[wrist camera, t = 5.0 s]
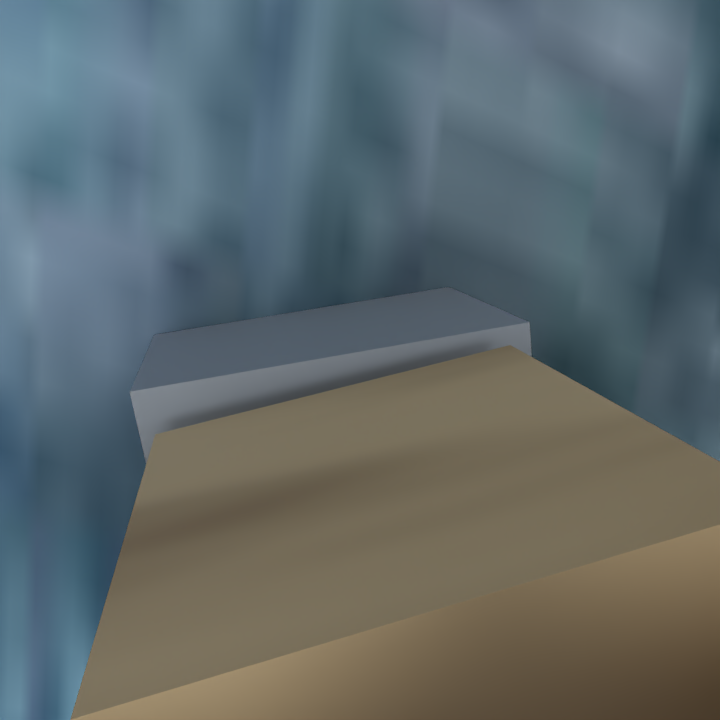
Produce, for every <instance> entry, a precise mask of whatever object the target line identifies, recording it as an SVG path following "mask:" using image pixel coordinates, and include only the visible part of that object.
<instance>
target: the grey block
mask: <svg viewBox="0 0 720 720" xmlns="http://www.w3.org/2000/svg"><path fill="white" fill-rule="evenodd" d="M508 345H511V346H513V347H515V348H517V349H518V350H520V351H522V352H524V353H526V354H527V355H529V356H531V357H532V354H531V336H530V322H528V321H526V320H524V319H521V318H519V317H517V316H515V315H512V314H510V313H508V312H505V311H503V310H501V309H499V308H496V307H494V306H492V305H489V304H487V303H485V302H483V301H480V300H478V299H476V298H473V297H471V296H469V295H467V294H464V293H462V292H460V291H457V290H455V289H453V288H451V287H446V288H440V289H433V290H427V291H421V292H415V293H409V294H403V295H396V296H390V297H384V298H378V299H372V300H366V301H359V302H353V303H347V304H341V305H335V306H329V307H322V308H316V309H310V310H304V311H298V312H291V313H285V314H279V315H273V316H267V317H261V318H254V319H248V320H242V321H236V322H230V323H224V324H217V325H211V326H205V327H199V328H193V329H187V330H180V331H174V332H168V333H162V334H156V335H154V336H153V339H152V341H151V343H150V346H149V348H148V350H147V353H146V355H145V357H144V360H143V362H142V364H141V367H140V369H139V371H138V374H137V376H136V378H135V380H134V383H133V385H132V387H131V390H130V396H131V400H132V404H133V409H134V413H135V417H136V422H137V426H138V430H139V435H140V439H141V443H142V448H143V452H144V457H145V461H146V463H147V460H148V457H149V453H150V450H151V447H152V443H153V440H154V437H155V434H159V433H163V432H167V431H170V430H174V429H178V428H182V427H186V426H190V425H194V424H198V423H202V422H206V421H210V420H214V419H218V418H222V417H226V416H230V415H234V414H238V413H242V412H246V411H250V410H254V409H258V408H262V407H266V406H270V405H274V404H278V403H282V402H286V401H290V400H294V399H298V398H302V397H306V396H310V395H314V394H318V393H322V392H326V391H330V390H333V389H337V388H341V387H345V386H349V385H353V384H357V383H361V382H365V381H369V380H373V379H377V378H381V377H385V376H389V375H393V374H397V373H401V372H405V371H409V370H413V369H417V368H421V367H425V366H429V365H433V364H437V363H441V362H445V361H449V360H453V359H457V358H461V357H465V356H469V355H473V354H477V353H481V352H485V351H489V350H493V349H497V348H500V347H504V346H508Z"/></svg>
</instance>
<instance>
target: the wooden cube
mask: <svg viewBox="0 0 720 720" xmlns="http://www.w3.org/2000/svg"><path fill="white" fill-rule="evenodd" d="M71 720H720V462H719V461H718V460H716V459H714V458H712V457H710V456H709V455H707V454H705V453H703V452H701V451H700V450H698V449H696V448H694V447H692V446H691V445H689V444H687V443H685V442H683V441H682V440H680V439H678V438H676V437H675V436H673V435H671V434H669V433H667V432H666V431H664V430H662V429H660V428H658V427H657V426H655V425H653V424H651V423H649V422H648V421H646V420H644V419H642V418H640V417H639V416H637V415H635V414H633V413H631V412H630V411H628V410H626V409H624V408H622V407H621V406H619V405H617V404H615V403H613V402H612V401H610V400H608V399H606V398H605V397H603V396H601V395H599V394H597V393H596V392H594V391H592V390H590V389H588V388H587V387H585V386H583V385H581V384H579V383H578V382H576V381H574V380H572V379H570V378H569V377H567V376H565V375H563V374H561V373H560V372H558V371H556V370H554V369H552V368H551V367H549V366H547V365H545V364H543V363H542V362H540V361H538V360H536V359H534V358H533V357H531V356H529V355H527V354H526V353H524V352H522V351H520V350H518V349H517V348H515V347H513V346H511V345H508V346H504V347H500V348H497V349H493V350H489V351H485V352H481V353H477V354H473V355H469V356H465V357H461V358H457V359H453V360H449V361H445V362H441V363H437V364H433V365H429V366H425V367H421V368H417V369H413V370H409V371H405V372H401V373H397V374H393V375H389V376H385V377H381V378H377V379H373V380H369V381H365V382H361V383H357V384H353V385H349V386H345V387H341V388H337V389H333V390H330V391H326V392H322V393H318V394H314V395H310V396H306V397H302V398H298V399H294V400H290V401H286V402H282V403H278V404H274V405H270V406H266V407H262V408H258V409H254V410H250V411H246V412H242V413H238V414H234V415H230V416H226V417H222V418H218V419H214V420H210V421H206V422H202V423H198V424H194V425H190V426H186V427H182V428H178V429H174V430H170V431H167V432H163V433H159V434H155V437H154V440H153V443H152V447H151V450H150V453H149V457H148V460H147V463H146V467H145V470H144V474H143V477H142V480H141V484H140V487H139V490H138V494H137V497H136V501H135V504H134V507H133V511H132V514H131V517H130V521H129V524H128V528H127V531H126V534H125V538H124V541H123V544H122V548H121V551H120V554H119V558H118V561H117V565H116V568H115V571H114V575H113V578H112V581H111V585H110V588H109V592H108V595H107V598H106V602H105V605H104V608H103V612H102V615H101V619H100V622H99V625H98V629H97V632H96V635H95V639H94V642H93V645H92V649H91V652H90V656H89V659H88V662H87V666H86V669H85V672H84V676H83V679H82V683H81V686H80V689H79V693H78V696H77V699H76V703H75V706H74V710H73V713H72V716H71Z"/></svg>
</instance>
